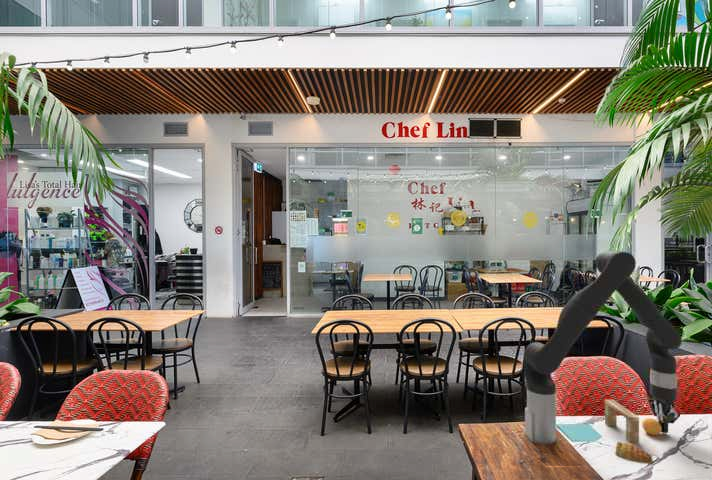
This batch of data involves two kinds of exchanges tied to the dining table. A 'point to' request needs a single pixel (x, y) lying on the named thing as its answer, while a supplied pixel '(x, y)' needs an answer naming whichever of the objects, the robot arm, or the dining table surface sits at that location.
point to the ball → (652, 426)
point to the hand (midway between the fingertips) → (663, 432)
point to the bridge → (631, 418)
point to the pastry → (632, 452)
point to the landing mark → (579, 432)
